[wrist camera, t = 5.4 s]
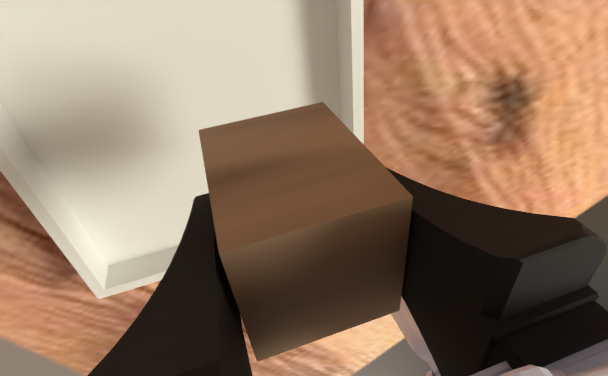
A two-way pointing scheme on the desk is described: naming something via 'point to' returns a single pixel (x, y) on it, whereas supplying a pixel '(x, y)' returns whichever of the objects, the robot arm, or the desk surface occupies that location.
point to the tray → (152, 110)
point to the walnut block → (304, 226)
